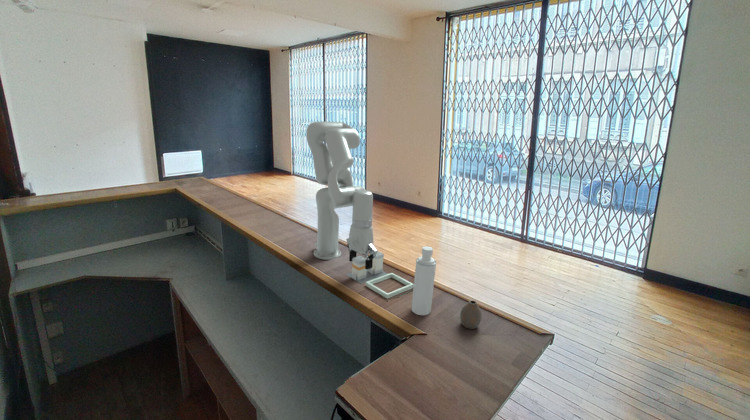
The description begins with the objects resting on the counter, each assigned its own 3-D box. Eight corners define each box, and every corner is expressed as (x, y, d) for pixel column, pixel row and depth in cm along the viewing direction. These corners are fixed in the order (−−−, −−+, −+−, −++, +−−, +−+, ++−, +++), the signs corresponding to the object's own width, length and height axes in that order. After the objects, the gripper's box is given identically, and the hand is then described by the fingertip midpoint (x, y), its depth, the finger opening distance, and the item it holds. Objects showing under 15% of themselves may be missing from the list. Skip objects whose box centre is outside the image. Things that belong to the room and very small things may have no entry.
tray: (365, 289, 143) (365, 282, 143) (391, 279, 153) (391, 272, 152) (386, 302, 135) (387, 294, 134) (413, 291, 144) (413, 284, 143)
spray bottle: (434, 313, 130) (442, 246, 123) (417, 317, 127) (424, 248, 120) (424, 304, 135) (431, 239, 128) (408, 307, 133) (414, 241, 126)
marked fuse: (351, 276, 150) (352, 257, 147) (359, 273, 152) (360, 255, 150) (358, 280, 147) (359, 261, 144) (366, 277, 149) (367, 259, 147)
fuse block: (345, 277, 151) (345, 269, 150) (372, 268, 161) (373, 261, 160) (360, 287, 144) (361, 279, 143) (388, 277, 154) (389, 269, 153)
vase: (456, 327, 123) (459, 303, 120) (462, 317, 128) (465, 294, 126) (476, 334, 119) (480, 310, 117) (482, 324, 125) (486, 300, 123)
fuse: (368, 270, 156) (369, 252, 153) (375, 268, 158) (377, 250, 156) (375, 274, 153) (376, 256, 150) (382, 271, 155) (383, 254, 153)
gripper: (340, 219, 147) (339, 259, 151) (369, 230, 134) (367, 274, 139) (355, 216, 151) (354, 255, 156) (384, 226, 139) (382, 269, 144)
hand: (360, 264), depth 147 cm, fingers open, 9 cm apart
